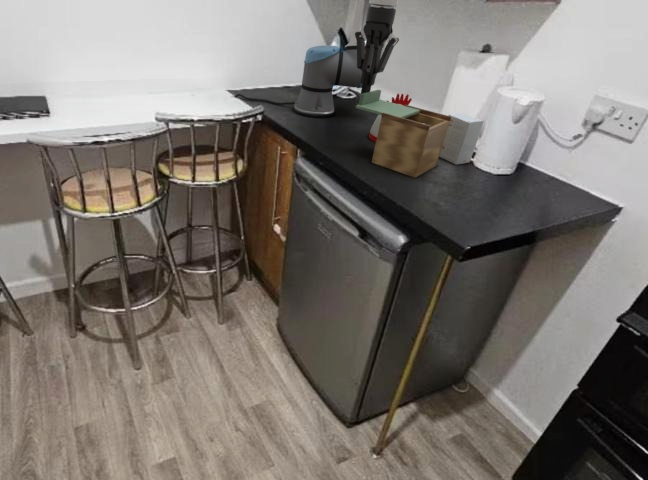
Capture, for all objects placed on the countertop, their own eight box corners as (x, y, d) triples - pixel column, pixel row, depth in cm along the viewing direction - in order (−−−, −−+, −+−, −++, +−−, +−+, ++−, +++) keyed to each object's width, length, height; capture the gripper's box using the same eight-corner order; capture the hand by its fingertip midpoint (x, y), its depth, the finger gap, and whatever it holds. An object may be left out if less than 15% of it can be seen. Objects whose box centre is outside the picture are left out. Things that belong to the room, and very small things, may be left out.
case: (370, 162, 135) (382, 112, 127) (394, 151, 144) (406, 104, 136) (414, 178, 127) (429, 126, 119) (436, 165, 136) (451, 116, 128)
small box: (470, 162, 140) (484, 120, 133) (455, 165, 138) (469, 122, 131) (450, 153, 146) (463, 112, 139) (435, 155, 144) (448, 114, 137)
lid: (355, 107, 133) (358, 94, 131) (377, 101, 141) (380, 88, 139) (399, 120, 125) (402, 106, 123) (419, 112, 133) (423, 99, 131)
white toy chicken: (418, 146, 150) (431, 100, 142) (380, 146, 147) (391, 99, 139) (398, 132, 161) (409, 88, 153) (362, 132, 158) (371, 87, 150)
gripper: (354, 3, 124) (339, 92, 137) (397, 9, 117) (377, 102, 130) (368, 3, 129) (353, 89, 142) (411, 9, 122) (390, 99, 135)
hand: (364, 95), depth 136 cm, fingers closed
